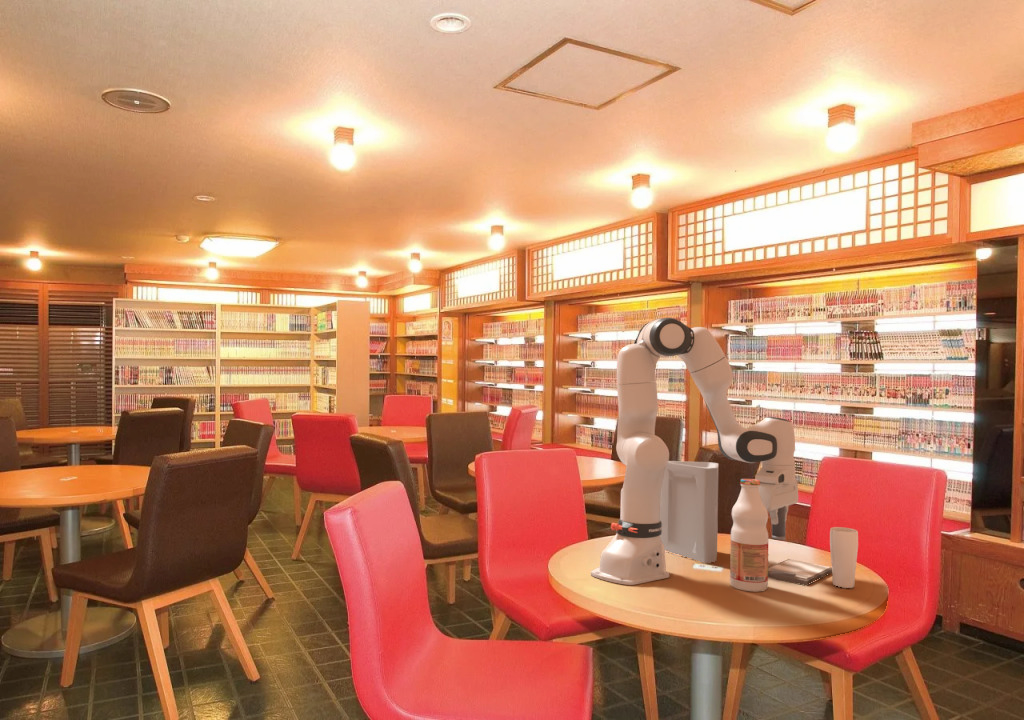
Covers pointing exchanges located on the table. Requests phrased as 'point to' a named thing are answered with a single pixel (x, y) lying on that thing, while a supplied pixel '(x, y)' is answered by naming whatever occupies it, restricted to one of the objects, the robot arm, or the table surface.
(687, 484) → the gray plastic bin
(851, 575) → the drinking glass
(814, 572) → the dark grey notebook
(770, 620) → the table surface
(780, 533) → the marker
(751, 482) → the fruit juice
